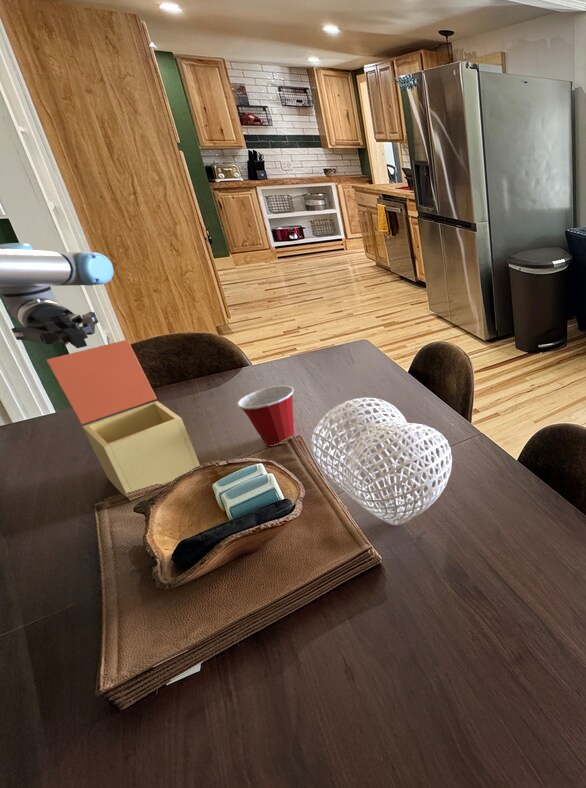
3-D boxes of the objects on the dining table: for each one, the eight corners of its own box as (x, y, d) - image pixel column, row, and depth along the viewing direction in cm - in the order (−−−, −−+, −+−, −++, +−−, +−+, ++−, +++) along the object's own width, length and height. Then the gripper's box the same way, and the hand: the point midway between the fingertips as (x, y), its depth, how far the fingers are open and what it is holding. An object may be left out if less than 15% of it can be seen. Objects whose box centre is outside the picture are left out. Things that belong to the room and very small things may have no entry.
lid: (127, 339, 97) (126, 339, 98) (46, 359, 88) (45, 359, 89) (157, 399, 101) (155, 398, 101) (81, 424, 92) (80, 424, 92)
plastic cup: (290, 421, 117) (278, 378, 112) (315, 434, 112) (303, 390, 107) (241, 443, 108) (226, 398, 104) (266, 459, 103) (251, 412, 99)
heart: (479, 530, 85) (466, 425, 76) (399, 591, 73) (374, 475, 65) (393, 469, 100) (374, 376, 92) (317, 511, 89) (287, 409, 80)
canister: (201, 469, 100) (181, 417, 95) (130, 502, 91) (103, 447, 86) (177, 450, 106) (157, 400, 101) (108, 479, 97) (82, 426, 92)
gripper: (-5, 311, 101) (23, 334, 89) (80, 295, 111) (115, 314, 99) (12, 343, 103) (41, 369, 92) (93, 325, 114) (128, 347, 102)
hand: (79, 341), depth 96 cm, fingers closed
